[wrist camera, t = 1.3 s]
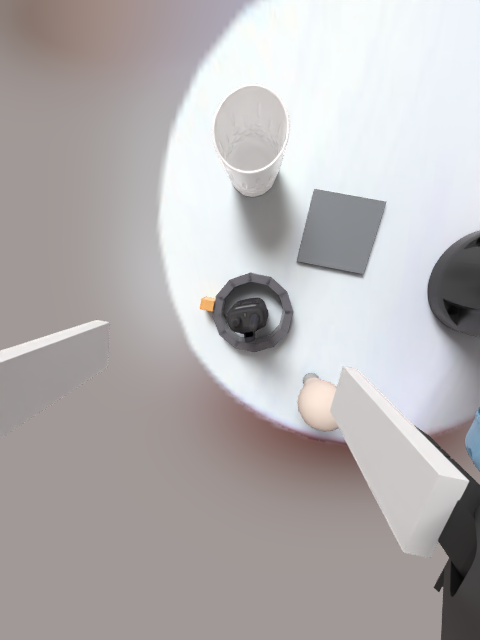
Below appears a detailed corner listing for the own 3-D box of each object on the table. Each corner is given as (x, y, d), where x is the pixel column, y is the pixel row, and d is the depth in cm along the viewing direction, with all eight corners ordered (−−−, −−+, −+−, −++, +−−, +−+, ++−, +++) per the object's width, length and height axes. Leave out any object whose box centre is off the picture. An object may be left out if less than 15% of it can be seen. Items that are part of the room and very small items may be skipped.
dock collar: (297, 282, 35) (301, 283, 32) (280, 352, 38) (281, 359, 35) (211, 264, 36) (206, 264, 33) (199, 335, 39) (194, 340, 36)
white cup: (287, 147, 32) (299, 92, 22) (273, 206, 33) (278, 181, 24) (233, 135, 32) (220, 76, 22) (221, 195, 34) (205, 165, 24)
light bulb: (292, 358, 38) (305, 393, 27) (332, 362, 38) (361, 399, 27) (288, 394, 40) (298, 439, 29) (327, 398, 39) (352, 446, 28)
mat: (384, 203, 32) (386, 201, 31) (362, 274, 34) (363, 274, 34) (313, 190, 32) (314, 189, 32) (296, 261, 35) (297, 261, 34)
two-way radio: (265, 295, 36) (268, 311, 22) (269, 321, 37) (274, 355, 23) (231, 300, 37) (212, 320, 22) (236, 326, 38) (220, 362, 23)
